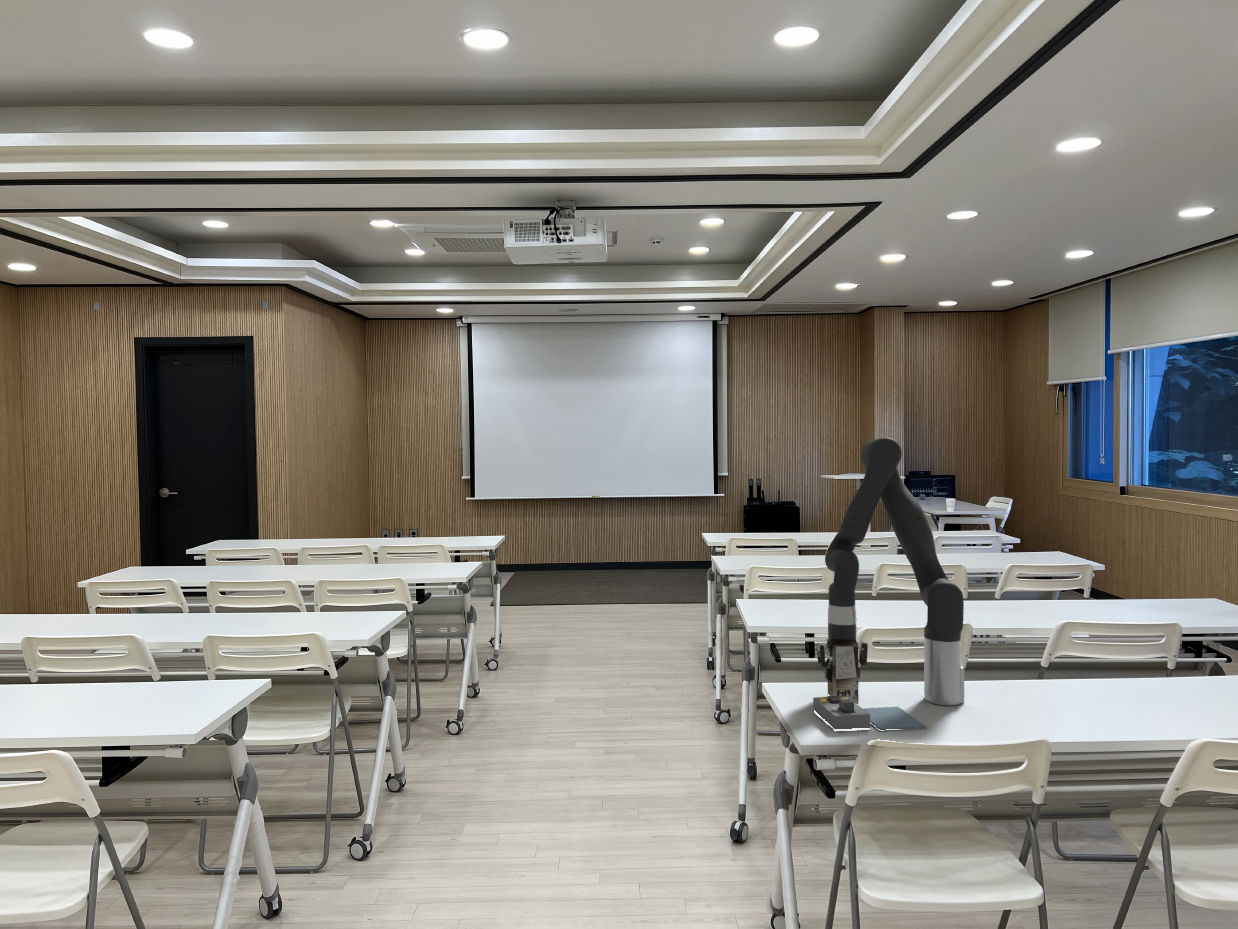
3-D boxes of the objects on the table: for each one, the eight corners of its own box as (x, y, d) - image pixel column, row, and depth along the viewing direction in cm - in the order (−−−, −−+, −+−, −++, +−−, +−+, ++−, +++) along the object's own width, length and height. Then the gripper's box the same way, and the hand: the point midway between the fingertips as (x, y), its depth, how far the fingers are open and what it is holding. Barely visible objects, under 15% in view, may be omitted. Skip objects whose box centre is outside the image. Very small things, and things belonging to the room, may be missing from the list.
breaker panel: (813, 712, 195) (813, 695, 195) (846, 711, 197) (845, 693, 196) (835, 732, 182) (835, 713, 181) (870, 730, 183) (870, 711, 183)
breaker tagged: (828, 707, 194) (827, 696, 194) (837, 706, 194) (837, 695, 194) (832, 710, 191) (832, 700, 191) (842, 710, 191) (842, 699, 191)
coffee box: (859, 705, 200) (859, 646, 200) (835, 706, 200) (835, 646, 200) (849, 694, 209) (849, 637, 209) (826, 695, 209) (826, 637, 209)
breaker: (839, 710, 187) (839, 699, 187) (849, 709, 187) (848, 698, 187) (844, 714, 184) (844, 702, 184) (854, 713, 184) (854, 702, 184)
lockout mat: (898, 709, 197) (898, 706, 197) (926, 728, 183) (926, 725, 183) (854, 712, 196) (854, 708, 196) (879, 731, 182) (879, 728, 182)
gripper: (860, 617, 209) (861, 675, 209) (811, 618, 207) (812, 678, 208) (873, 622, 202) (873, 683, 202) (822, 624, 200) (822, 686, 200)
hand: (842, 680), depth 205 cm, fingers closed on coffee box, 7 cm apart
